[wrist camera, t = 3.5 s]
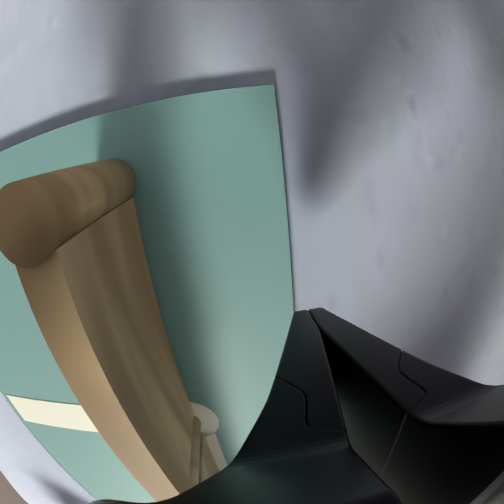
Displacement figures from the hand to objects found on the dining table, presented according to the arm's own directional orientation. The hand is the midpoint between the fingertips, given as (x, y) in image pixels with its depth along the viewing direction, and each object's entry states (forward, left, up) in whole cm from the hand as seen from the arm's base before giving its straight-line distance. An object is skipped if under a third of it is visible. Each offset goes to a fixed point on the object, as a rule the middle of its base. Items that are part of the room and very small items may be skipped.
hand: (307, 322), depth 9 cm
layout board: (+9, +6, -3) cm, 11 cm away
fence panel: (+6, 0, -2) cm, 6 cm away
